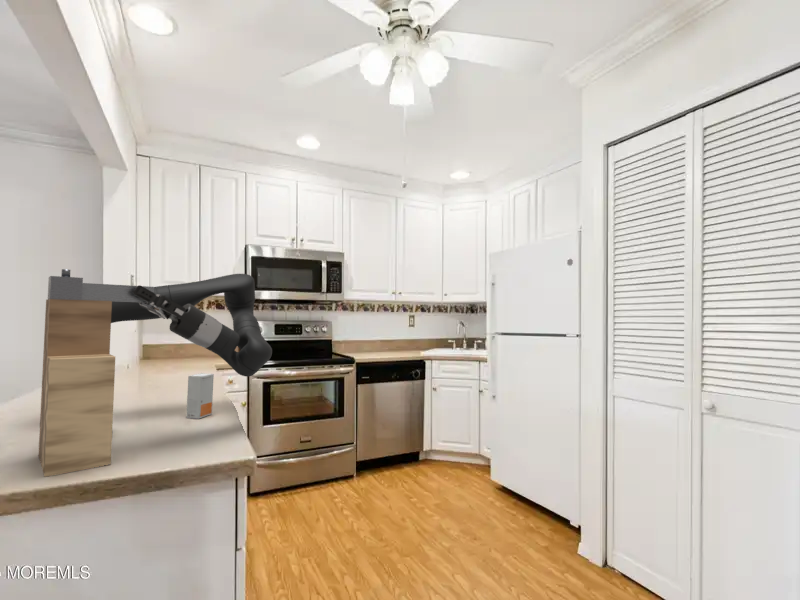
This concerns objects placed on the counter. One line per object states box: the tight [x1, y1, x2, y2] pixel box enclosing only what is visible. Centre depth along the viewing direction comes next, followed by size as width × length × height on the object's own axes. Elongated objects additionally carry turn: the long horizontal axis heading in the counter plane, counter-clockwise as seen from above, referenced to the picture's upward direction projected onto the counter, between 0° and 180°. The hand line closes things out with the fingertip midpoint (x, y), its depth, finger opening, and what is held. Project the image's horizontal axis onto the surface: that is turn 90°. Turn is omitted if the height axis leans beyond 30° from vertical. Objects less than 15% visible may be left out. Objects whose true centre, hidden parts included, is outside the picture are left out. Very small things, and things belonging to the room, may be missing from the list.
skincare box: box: [185, 372, 215, 420], centre depth 124 cm, size 6×4×12 cm
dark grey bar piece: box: [47, 268, 155, 303], centre depth 91 cm, size 5×18×6 cm, turn 133°
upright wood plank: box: [37, 298, 116, 478], centre depth 87 cm, size 15×10×32 cm, turn 43°
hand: (130, 289), depth 94 cm, fingers open, 8 cm apart
